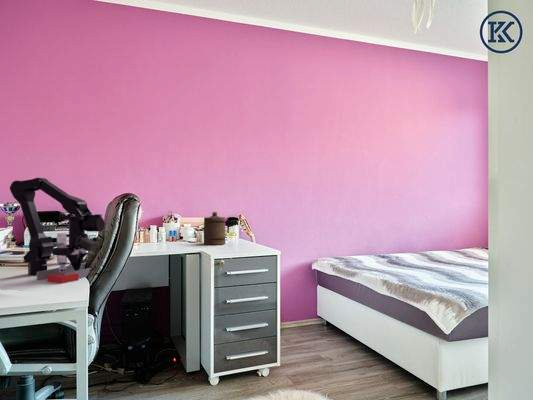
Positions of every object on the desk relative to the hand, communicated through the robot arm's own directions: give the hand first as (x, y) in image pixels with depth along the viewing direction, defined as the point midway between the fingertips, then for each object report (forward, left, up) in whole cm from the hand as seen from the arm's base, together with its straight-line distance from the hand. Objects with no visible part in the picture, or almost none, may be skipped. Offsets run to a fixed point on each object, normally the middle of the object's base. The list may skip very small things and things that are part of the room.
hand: (76, 271), depth 160 cm
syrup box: (-31, +26, -2) cm, 41 cm away
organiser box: (0, 0, -2) cm, 2 cm away
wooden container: (-1, +127, -2) cm, 127 cm away
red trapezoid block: (+4, -11, -2) cm, 12 cm away
